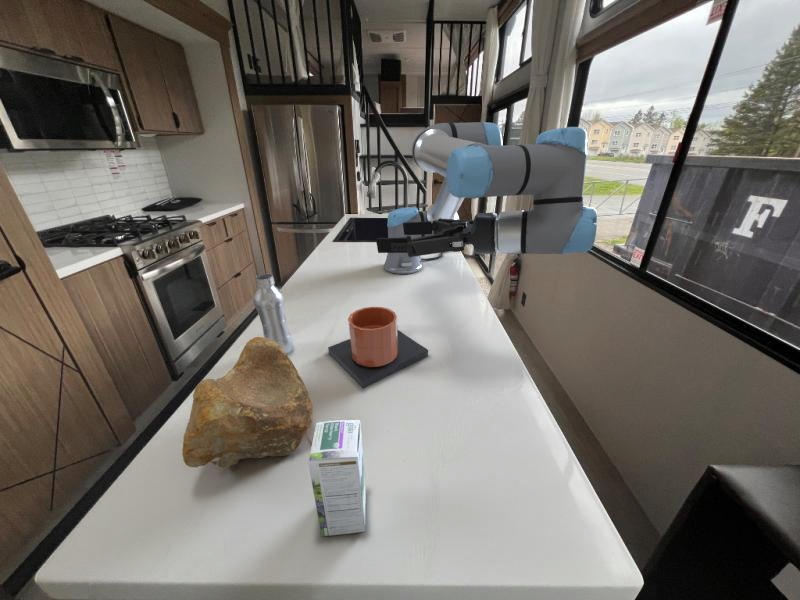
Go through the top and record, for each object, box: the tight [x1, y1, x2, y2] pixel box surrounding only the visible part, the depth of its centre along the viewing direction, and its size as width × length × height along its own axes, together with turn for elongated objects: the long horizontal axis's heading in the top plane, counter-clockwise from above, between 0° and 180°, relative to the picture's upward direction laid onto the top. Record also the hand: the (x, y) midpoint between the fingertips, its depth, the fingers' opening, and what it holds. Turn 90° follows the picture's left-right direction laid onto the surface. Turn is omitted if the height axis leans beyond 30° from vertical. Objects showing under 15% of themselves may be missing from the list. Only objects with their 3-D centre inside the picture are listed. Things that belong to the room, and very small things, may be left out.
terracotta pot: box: [347, 306, 398, 367], centre depth 72 cm, size 10×10×10 cm
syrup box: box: [307, 419, 367, 537], centre depth 41 cm, size 6×6×14 cm
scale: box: [327, 325, 429, 390], centre depth 77 cm, size 18×16×4 cm
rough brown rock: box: [181, 336, 313, 470], centre depth 54 cm, size 23×17×15 cm
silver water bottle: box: [252, 273, 294, 355], centre depth 75 cm, size 6×7×20 cm
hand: (391, 236), depth 68 cm, fingers open, 13 cm apart
